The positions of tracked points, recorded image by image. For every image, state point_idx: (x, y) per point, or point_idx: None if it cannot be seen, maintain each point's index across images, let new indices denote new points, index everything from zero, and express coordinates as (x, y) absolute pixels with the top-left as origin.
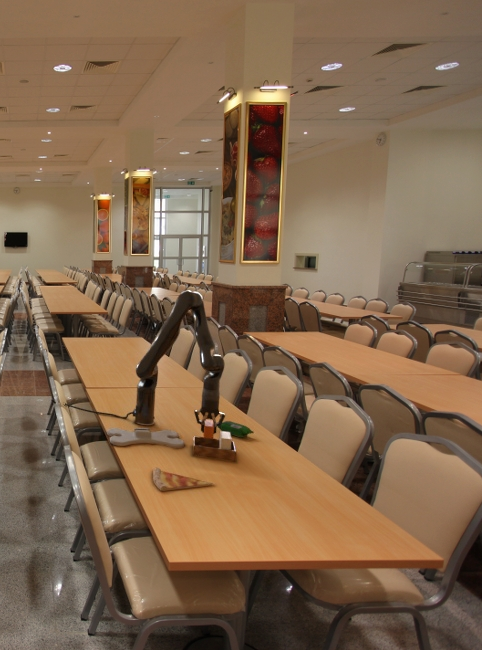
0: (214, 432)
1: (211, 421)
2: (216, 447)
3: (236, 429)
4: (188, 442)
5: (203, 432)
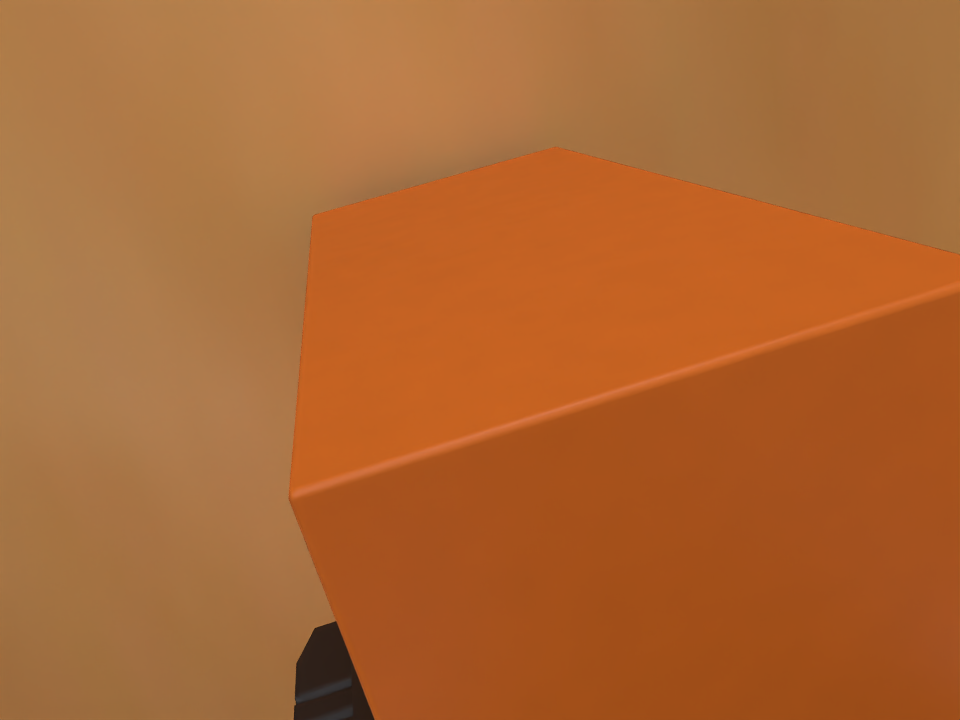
0: None
1: (895, 541)
2: None
3: None
4: (95, 680)
5: None
